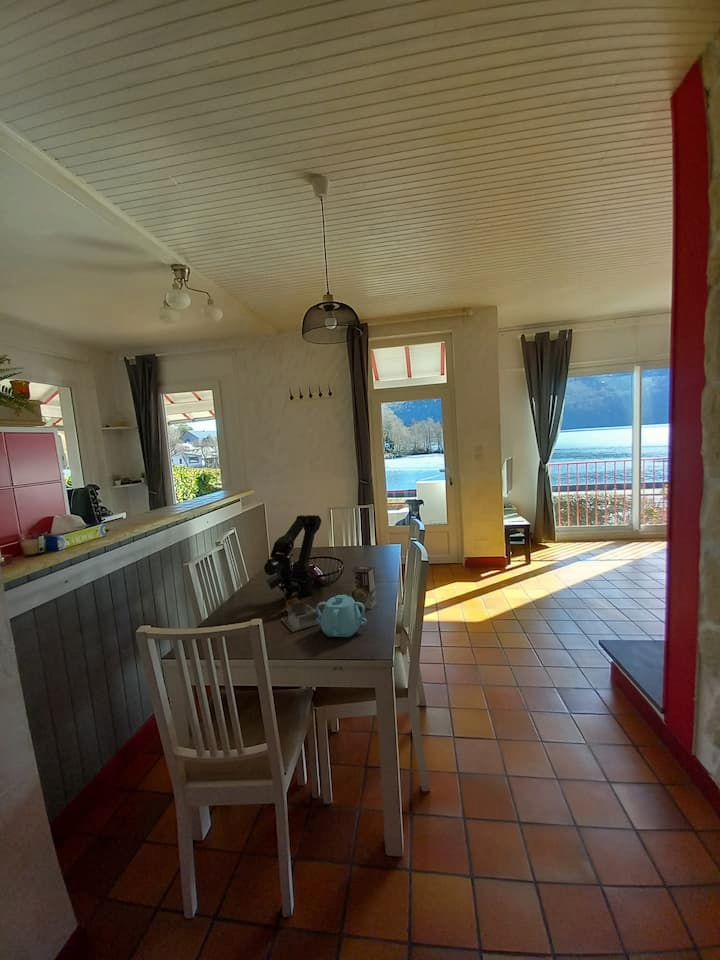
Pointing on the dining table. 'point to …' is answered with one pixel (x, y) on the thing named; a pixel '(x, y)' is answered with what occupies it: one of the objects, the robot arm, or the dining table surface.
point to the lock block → (294, 606)
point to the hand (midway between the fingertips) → (287, 602)
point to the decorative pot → (340, 616)
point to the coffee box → (363, 586)
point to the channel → (301, 619)
